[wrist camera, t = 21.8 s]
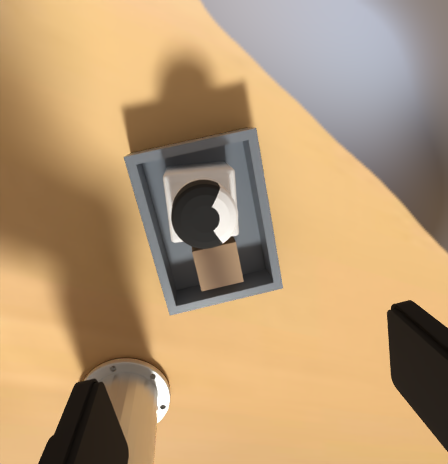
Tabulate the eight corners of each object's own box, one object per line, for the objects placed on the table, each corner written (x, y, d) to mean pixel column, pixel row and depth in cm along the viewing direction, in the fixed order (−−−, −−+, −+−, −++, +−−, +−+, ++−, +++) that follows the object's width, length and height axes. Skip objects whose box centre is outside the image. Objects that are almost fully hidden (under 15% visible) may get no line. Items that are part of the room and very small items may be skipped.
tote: (272, 271, 47) (283, 288, 42) (171, 295, 46) (169, 315, 42) (247, 127, 41) (256, 128, 36) (130, 153, 41) (123, 157, 36)
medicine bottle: (173, 224, 43) (169, 261, 31) (165, 166, 41) (159, 182, 29) (230, 218, 43) (247, 252, 32) (226, 160, 41) (243, 174, 30)
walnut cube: (230, 229, 44) (235, 242, 39) (237, 265, 45) (243, 281, 41) (190, 238, 44) (192, 251, 39) (199, 273, 45) (201, 291, 40)
